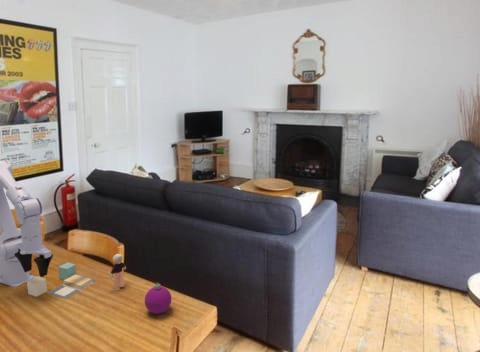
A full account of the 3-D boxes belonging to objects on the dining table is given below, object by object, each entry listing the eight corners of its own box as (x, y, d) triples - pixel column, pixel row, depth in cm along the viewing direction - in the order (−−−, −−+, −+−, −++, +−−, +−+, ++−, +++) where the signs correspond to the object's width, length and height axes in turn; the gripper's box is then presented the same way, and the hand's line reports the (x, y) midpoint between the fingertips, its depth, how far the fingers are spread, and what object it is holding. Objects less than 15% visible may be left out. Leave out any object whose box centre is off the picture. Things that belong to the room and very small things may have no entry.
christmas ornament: (139, 313, 114) (138, 283, 111) (159, 301, 120) (158, 273, 118) (158, 322, 109) (156, 292, 107) (177, 309, 116) (176, 281, 114)
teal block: (59, 279, 133) (58, 266, 132) (68, 274, 137) (67, 262, 135) (67, 281, 131) (66, 269, 130) (76, 277, 135) (75, 264, 134)
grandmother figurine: (119, 293, 124) (117, 259, 121) (108, 292, 125) (106, 258, 122) (130, 282, 132) (128, 250, 129) (120, 281, 132) (118, 249, 130)
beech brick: (63, 284, 129) (63, 280, 128) (75, 278, 133) (74, 274, 133) (80, 289, 126) (80, 285, 125) (91, 283, 130) (91, 279, 130)
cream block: (28, 294, 122) (26, 281, 121) (39, 289, 126) (37, 276, 125) (36, 297, 121) (35, 284, 120) (47, 292, 124) (45, 278, 123)
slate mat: (46, 293, 123) (46, 293, 123) (79, 275, 136) (79, 275, 136) (66, 300, 120) (65, 299, 120) (98, 281, 132) (98, 280, 132)
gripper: (4, 235, 118) (9, 273, 121) (35, 243, 112) (40, 283, 115) (25, 228, 124) (29, 265, 127) (55, 235, 119) (59, 273, 122)
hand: (35, 273), depth 122 cm, fingers open, 7 cm apart
